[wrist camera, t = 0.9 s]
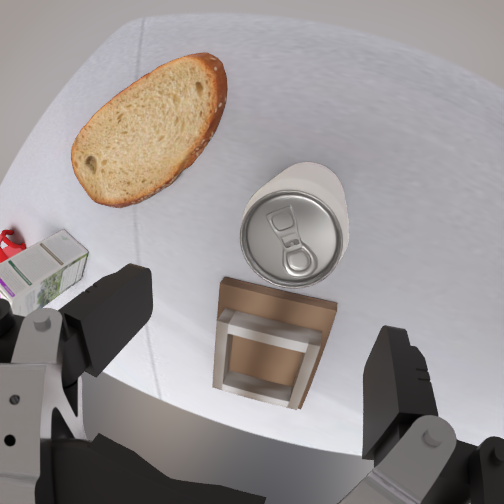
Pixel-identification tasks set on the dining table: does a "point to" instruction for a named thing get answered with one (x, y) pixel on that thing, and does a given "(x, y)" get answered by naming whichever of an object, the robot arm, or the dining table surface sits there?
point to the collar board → (269, 342)
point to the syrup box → (41, 272)
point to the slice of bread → (150, 131)
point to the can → (296, 226)
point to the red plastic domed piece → (9, 246)
